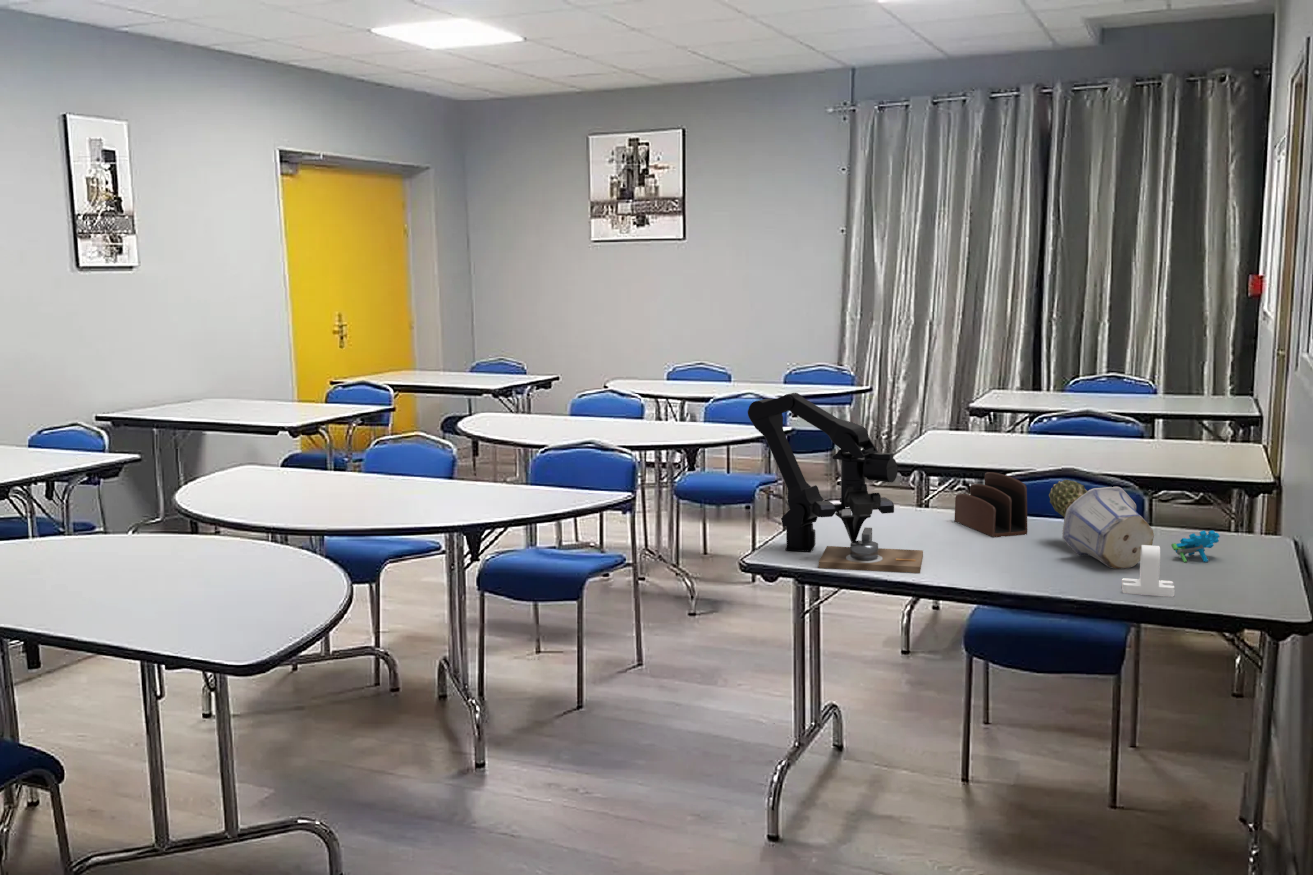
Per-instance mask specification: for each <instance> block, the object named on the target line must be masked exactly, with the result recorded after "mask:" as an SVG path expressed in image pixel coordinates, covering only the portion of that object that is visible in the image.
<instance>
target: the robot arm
mask: <svg viewBox="0 0 1313 875" xmlns="http://www.w3.org/2000/svg"><path fill="white" fill-rule="evenodd" d="M787 412H791V413H792V414H794V415H796V416H797V417H798V418H801V419H802V420H804V421H805V422H807V423H808V424H810V425H812V426H814V427H815V428H816V429H818V430H820V431H821V432H823V433H825V434H826V435H827V436H828V437H829V439H830V440H831V442H832V443H833V444H834V445H835V446H836V447H837V448H839V449H838V451H837V452H836V453H835V454H834V455H833V456H832V460H839V461H840V481H839V486H840V497H839V502H840V503H834V504H833V503H832V502H831V501H829V500H824V498H823V497H822V496H821V494H820V490H819V486H817V485H816V484H815V485H813V486H812V485H810V484H809V483H808V482H807V481H806V478H805V477H804V474H803V472H802V470H801V468H800V465H799V464H798V461H797V458H796V456H795V454H794V452H793V449H792V448H791V445H790V443H789V441H788V438H787V436H786V433H785V432H784V431H785V430H784V415H783V414H784V413H787ZM747 417H748V418H749V420H750V422H751V423H752V425H753V427H754V428H755V429H756V430H757V431H758V432H759V433H760V434H761V435H763V437H764V438H765V440H766V443H767V445H768V447H769V449H770V452H771V454H772V456H773V459H774V461H775V464H776V465H777V467H778V470H779V472H780V475H781V478H782V479H783V482H784V484H785V486H786V489H787V505H788V509H789V510H788V511H787V512H786V513H784V515H783V516H782V517H780V520H781V524H782V526H783V527H785V528H786V529H785V530H786V531H785V532H786V535H785V536H786V538H785V539H786V546H785V548H784V550H785V551H787V550H790V552H810V553H811V552H812V551H813V549H814V548H815V546H816V529H815V528H814V523H816V522H817V520H818V518H832V517H834V515H835V516H837V517H838V518H839V519H841V521H842V523H843V525H844V528H845V530H846V532H847V535H848V538H849V541H850V543H851V542H854V541H857V538H858V536H859V534H860V531H861V528H862V526H863V524H864V522H865V521H866V520H867V519H869V518H871V517H872V514H873V510H876V511H879V513H881V514H894V513H895V505H894V502H893V501H892V500H891V499H889V498H887V497H884V496H883V497H882V496H881V494H880V492H871V493H869V491H868V485H867V483H866V479H867V480H868V481H874V482H882V483H883V482H885V483H894V482H895V480H896V479H897V476H898V470H899V469H898V467H899V466H898V465H897V461H896V459H895V458H894V453H893V452H879V450H878V449H877V448H876V446H875V445H874V443H873V441H872V440H871V439H870V435H869V432H868V430H867V428H866V427H864V426H863V425H861V424H858V423H855V422H852V421H848V420H845V419H841V418H838V417H836V416H834V415H833V414H831V413H830V412H828V411H827V410H824V409H823V408H822V407H819V406H818V405H817V404H814V403H813V402H812V401H810V400H808V399H806V398H805V397H803V396H802V395H801V394H800V393H798V392H791V393H786V394H784V395H783V396H780V397H776V398H771V397H770V398H764V399H759V400H755V401H753V402H751V403H750V404H749V406H748V409H747Z"/></svg>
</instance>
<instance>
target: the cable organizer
mask: <svg viewBox="0 0 1313 875" xmlns="http://www.w3.org/2000/svg"><path fill="white" fill-rule="evenodd" d="M1160 566H1161V547H1160V545H1152V546H1151V545H1141V555H1140V561H1139V578H1122V579H1121V589H1122V593H1123V594H1128V595H1142V596H1155V597H1169V598H1173V597H1175V585H1174V581H1172V580H1162V579H1161V580H1160V571H1161V567H1160Z"/></svg>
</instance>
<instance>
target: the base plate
mask: <svg viewBox="0 0 1313 875" xmlns="http://www.w3.org/2000/svg"><path fill="white" fill-rule="evenodd" d="M923 558H924V549H901V548H899V549H898V548H880V547H878V558H876V559H872V560H859V559H854V558H852V557H851V556H850V546H836V545H833V546H832V545H826V547H825V549H824V550H823V552H822V554H821V556H820V558H819V560H818V568H819V569H829V570H830V569H832V570H847V571H848V570H849V571H850V570H852V571H853V570H854V571H871V572H874V571H875V572H891V573H893V572H894V573H906V572H911V573H910V574H920V573H921V570H922V565H923V560H924V559H923Z"/></svg>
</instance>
